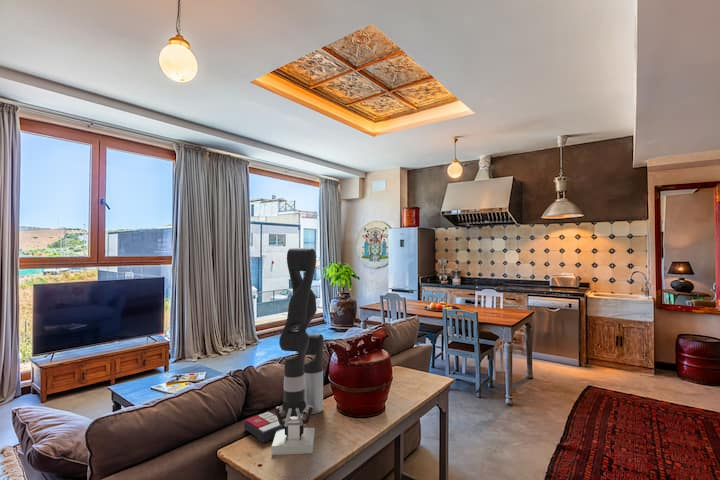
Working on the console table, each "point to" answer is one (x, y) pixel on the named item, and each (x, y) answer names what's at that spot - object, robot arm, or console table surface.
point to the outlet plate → (293, 443)
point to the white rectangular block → (293, 428)
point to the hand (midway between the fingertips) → (294, 435)
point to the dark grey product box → (263, 426)
